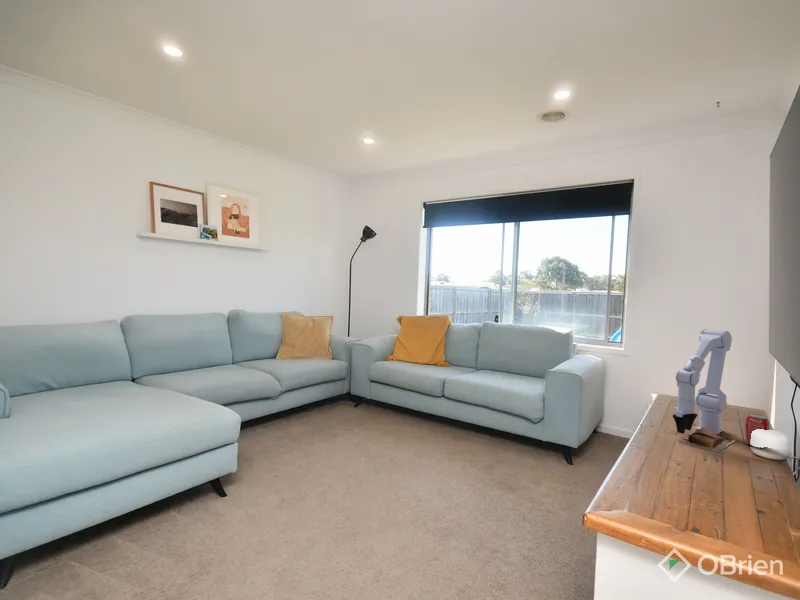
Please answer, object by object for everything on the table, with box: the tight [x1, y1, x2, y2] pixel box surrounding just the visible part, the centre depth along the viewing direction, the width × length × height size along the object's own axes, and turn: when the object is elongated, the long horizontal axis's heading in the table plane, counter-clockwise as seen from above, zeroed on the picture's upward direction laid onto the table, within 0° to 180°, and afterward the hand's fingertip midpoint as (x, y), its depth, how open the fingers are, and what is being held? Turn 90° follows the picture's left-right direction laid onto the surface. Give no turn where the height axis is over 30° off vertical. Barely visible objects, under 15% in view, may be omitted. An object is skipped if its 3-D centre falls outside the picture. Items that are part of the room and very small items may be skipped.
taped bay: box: [679, 441, 729, 454], centre depth 161 cm, size 24×12×1 cm, turn 127°
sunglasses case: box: [687, 427, 724, 449], centre depth 163 cm, size 18×7×7 cm
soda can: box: [744, 413, 770, 445], centre depth 159 cm, size 7×7×12 cm
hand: (684, 431), depth 168 cm, fingers open, 7 cm apart
